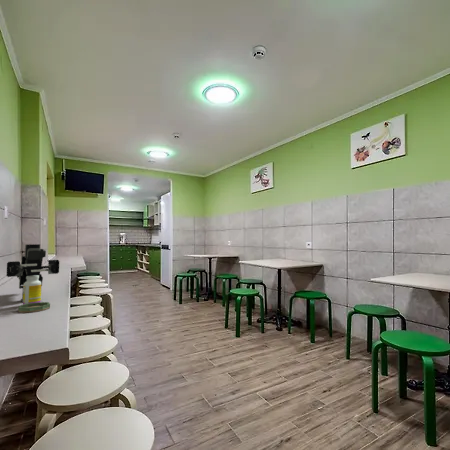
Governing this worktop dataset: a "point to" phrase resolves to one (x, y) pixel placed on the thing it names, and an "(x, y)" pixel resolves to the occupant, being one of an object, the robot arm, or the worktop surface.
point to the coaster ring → (34, 307)
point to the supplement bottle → (32, 290)
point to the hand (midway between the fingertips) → (36, 269)
